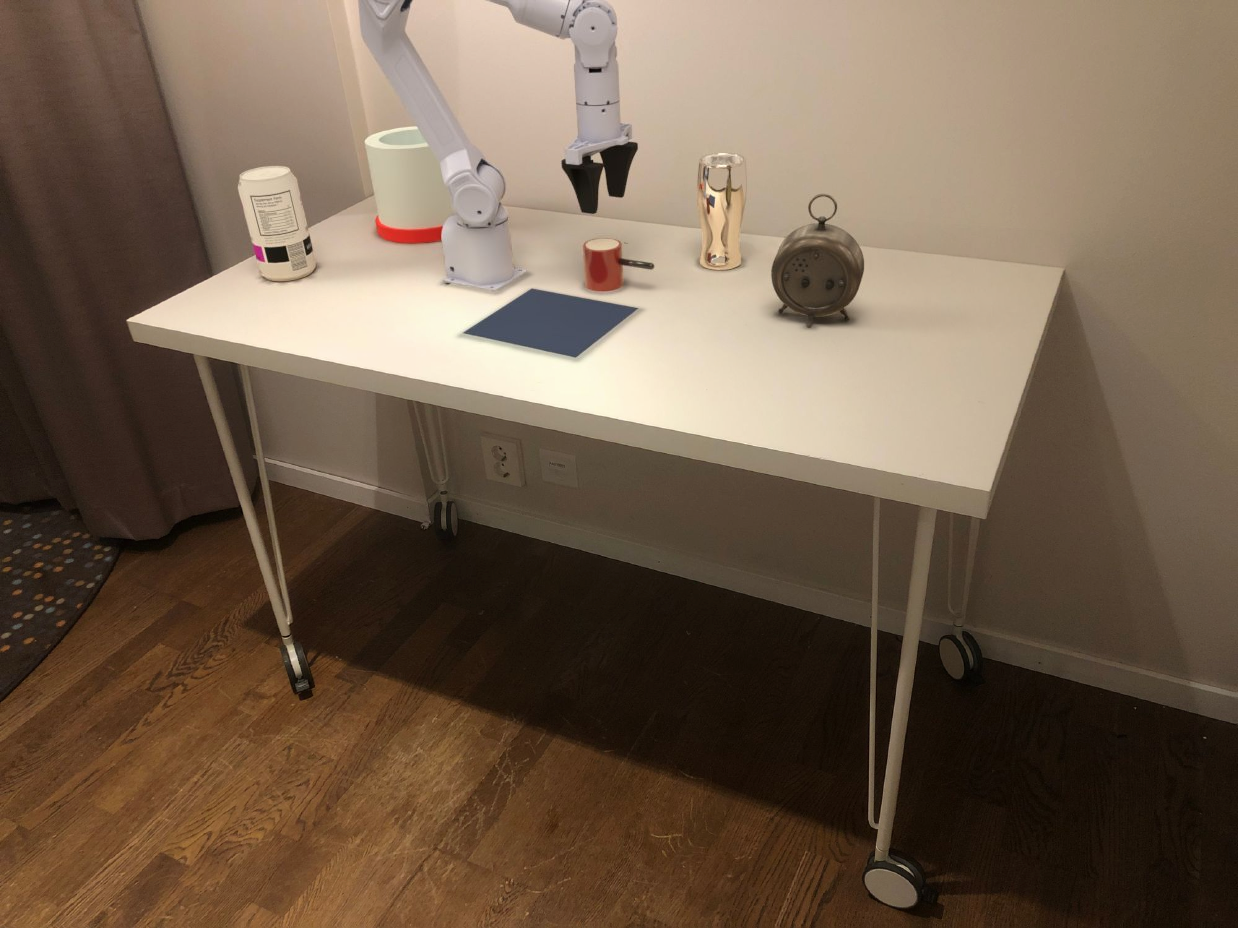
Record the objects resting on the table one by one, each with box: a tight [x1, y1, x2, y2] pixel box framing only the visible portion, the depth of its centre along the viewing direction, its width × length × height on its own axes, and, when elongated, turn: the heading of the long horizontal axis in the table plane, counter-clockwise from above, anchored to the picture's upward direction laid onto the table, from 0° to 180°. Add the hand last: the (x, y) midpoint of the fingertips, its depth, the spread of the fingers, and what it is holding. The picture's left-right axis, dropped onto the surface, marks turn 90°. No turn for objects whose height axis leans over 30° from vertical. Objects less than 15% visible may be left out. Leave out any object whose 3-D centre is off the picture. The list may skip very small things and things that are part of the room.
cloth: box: [462, 288, 639, 359], centre depth 122 cm, size 17×16×1 cm
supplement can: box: [237, 165, 317, 282], centre depth 137 cm, size 8×8×15 cm
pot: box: [582, 237, 655, 292], centre depth 129 cm, size 11×5×6 cm, turn 61°
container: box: [364, 125, 456, 244], centre depth 152 cm, size 16×16×15 cm
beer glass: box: [696, 152, 748, 271], centre depth 133 cm, size 7×7×15 cm
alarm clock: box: [770, 193, 865, 328], centre depth 114 cm, size 11×5×16 cm, turn 71°
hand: (603, 204), depth 129 cm, fingers open, 7 cm apart
